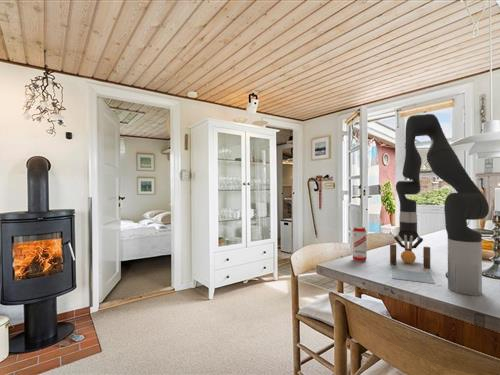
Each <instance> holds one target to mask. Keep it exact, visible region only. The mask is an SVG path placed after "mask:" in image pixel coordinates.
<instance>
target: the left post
mask: <svg viewBox="0 0 500 375" xmlns="http://www.w3.org/2000/svg"><path fill="white" fill-rule="evenodd" d="M389 265H393V266H397V244H395V243H390V244H389Z"/></svg>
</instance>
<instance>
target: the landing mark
mask: <svg viewBox="0 0 500 375" xmlns="http://www.w3.org/2000/svg"><path fill="white" fill-rule="evenodd" d="M391 279H393V280H399V281H400V280H402V281H410V282H415V283H422V284H423V283H424V284H430V285H431V284H432V285H436V283H435V280H434V277H433V275H432V273H431V272H426V271H424V272H423V271H418V270H417V271H416V270H408V269H407V270H406V269H397V268H391Z"/></svg>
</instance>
